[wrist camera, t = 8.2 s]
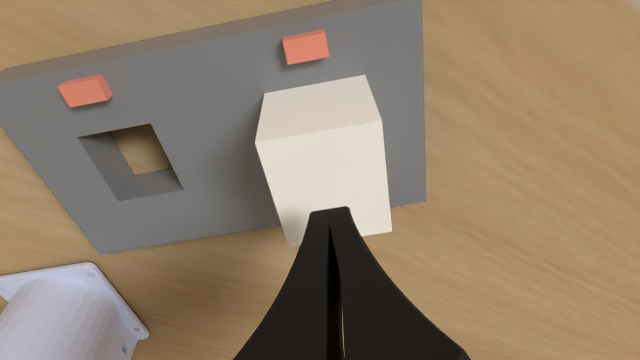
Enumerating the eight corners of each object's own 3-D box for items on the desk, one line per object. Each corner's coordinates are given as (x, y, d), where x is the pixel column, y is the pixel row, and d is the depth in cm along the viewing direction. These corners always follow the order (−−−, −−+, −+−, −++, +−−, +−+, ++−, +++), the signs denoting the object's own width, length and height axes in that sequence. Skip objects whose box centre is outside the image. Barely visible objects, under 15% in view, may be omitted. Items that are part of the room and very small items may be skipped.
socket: (415, 176, 24) (429, 208, 21) (116, 226, 25) (95, 262, 23) (408, -15, 17) (425, -1, 15) (6, 68, 19) (-38, 93, 16)
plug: (372, 170, 23) (393, 250, 18) (296, 182, 23) (294, 264, 18) (359, 60, 19) (382, 120, 14) (267, 77, 19) (254, 143, 14)
